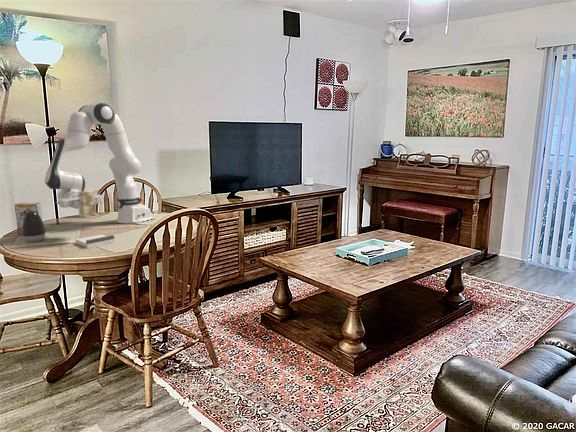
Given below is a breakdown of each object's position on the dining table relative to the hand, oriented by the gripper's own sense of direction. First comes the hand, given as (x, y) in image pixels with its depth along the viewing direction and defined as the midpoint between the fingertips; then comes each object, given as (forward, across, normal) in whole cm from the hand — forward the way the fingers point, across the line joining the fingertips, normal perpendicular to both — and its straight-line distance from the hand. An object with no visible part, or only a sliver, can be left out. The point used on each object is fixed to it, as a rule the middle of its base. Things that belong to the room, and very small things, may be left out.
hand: (87, 202), depth 212 cm
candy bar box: (-39, -15, +20) cm, 46 cm away
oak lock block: (-1, 0, +6) cm, 7 cm away
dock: (+7, -1, +19) cm, 20 cm away
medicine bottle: (-63, +24, +19) cm, 70 cm away
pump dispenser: (-21, -19, +20) cm, 35 cm away
